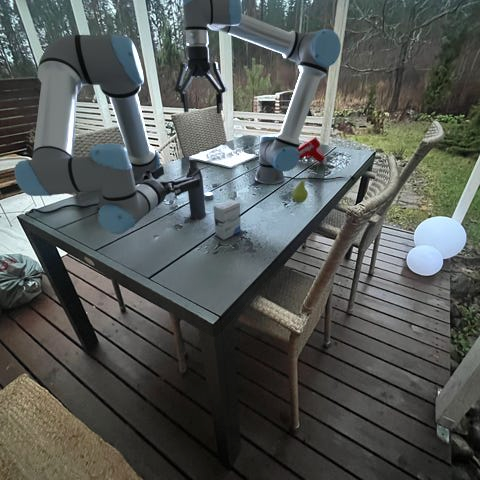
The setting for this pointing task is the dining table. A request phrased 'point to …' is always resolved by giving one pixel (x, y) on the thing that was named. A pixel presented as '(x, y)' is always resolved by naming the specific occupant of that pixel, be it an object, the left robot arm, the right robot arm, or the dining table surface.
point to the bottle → (196, 193)
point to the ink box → (227, 218)
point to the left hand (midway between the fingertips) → (181, 171)
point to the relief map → (224, 156)
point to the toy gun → (311, 150)
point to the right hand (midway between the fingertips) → (202, 112)
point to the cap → (208, 195)
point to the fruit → (300, 192)
